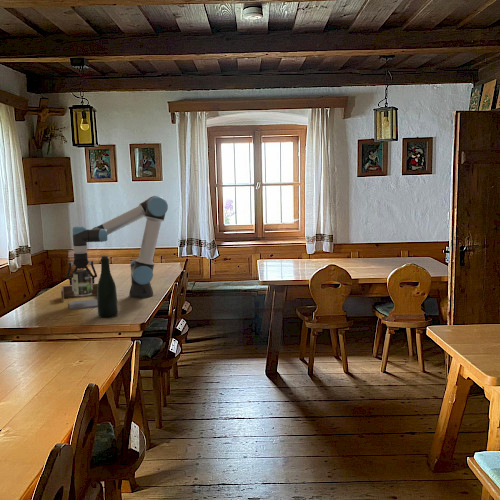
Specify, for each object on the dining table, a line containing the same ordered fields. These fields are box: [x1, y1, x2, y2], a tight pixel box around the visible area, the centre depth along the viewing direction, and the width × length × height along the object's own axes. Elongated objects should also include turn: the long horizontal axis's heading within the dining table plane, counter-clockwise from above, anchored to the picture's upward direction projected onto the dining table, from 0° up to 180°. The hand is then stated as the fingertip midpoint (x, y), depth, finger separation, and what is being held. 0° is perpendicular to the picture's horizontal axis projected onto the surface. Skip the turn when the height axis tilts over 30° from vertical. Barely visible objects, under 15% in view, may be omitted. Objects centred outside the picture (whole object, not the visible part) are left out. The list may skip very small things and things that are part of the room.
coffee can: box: [71, 269, 92, 297], centre depth 300 cm, size 10×10×14 cm
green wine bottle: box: [96, 255, 119, 319], centre depth 275 cm, size 10×10×33 cm
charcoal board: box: [68, 299, 98, 310], centre depth 302 cm, size 16×16×1 cm
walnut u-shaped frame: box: [60, 283, 98, 303], centre depth 321 cm, size 15×25×7 cm, turn 109°
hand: (82, 289), depth 301 cm, fingers closed on coffee can, 10 cm apart
